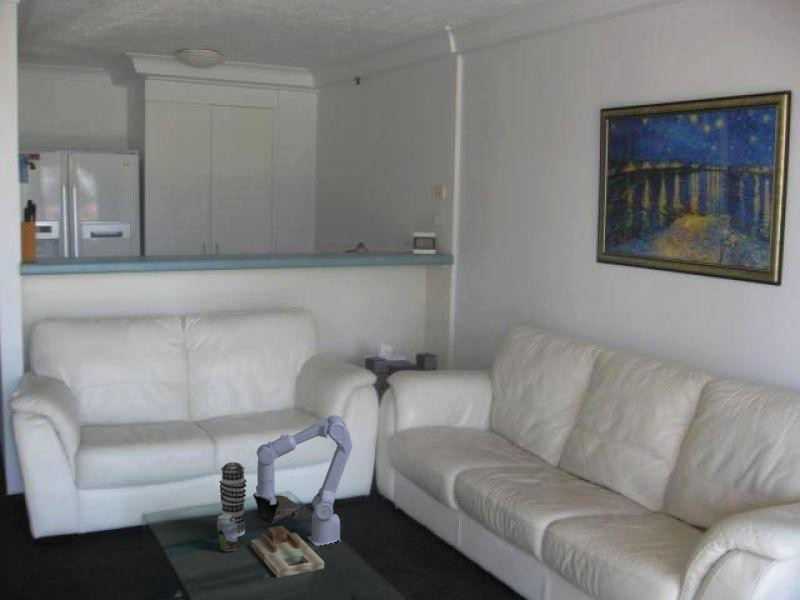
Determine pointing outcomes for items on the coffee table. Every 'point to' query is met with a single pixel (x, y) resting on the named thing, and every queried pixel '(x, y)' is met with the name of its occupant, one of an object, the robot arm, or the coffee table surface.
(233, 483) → the decorative candle
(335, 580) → the coffee table surface
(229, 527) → the beverage can
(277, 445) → the robot arm
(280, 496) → the geological specimen
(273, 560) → the deck
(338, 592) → the coffee table surface
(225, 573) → the coffee table surface
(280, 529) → the block
